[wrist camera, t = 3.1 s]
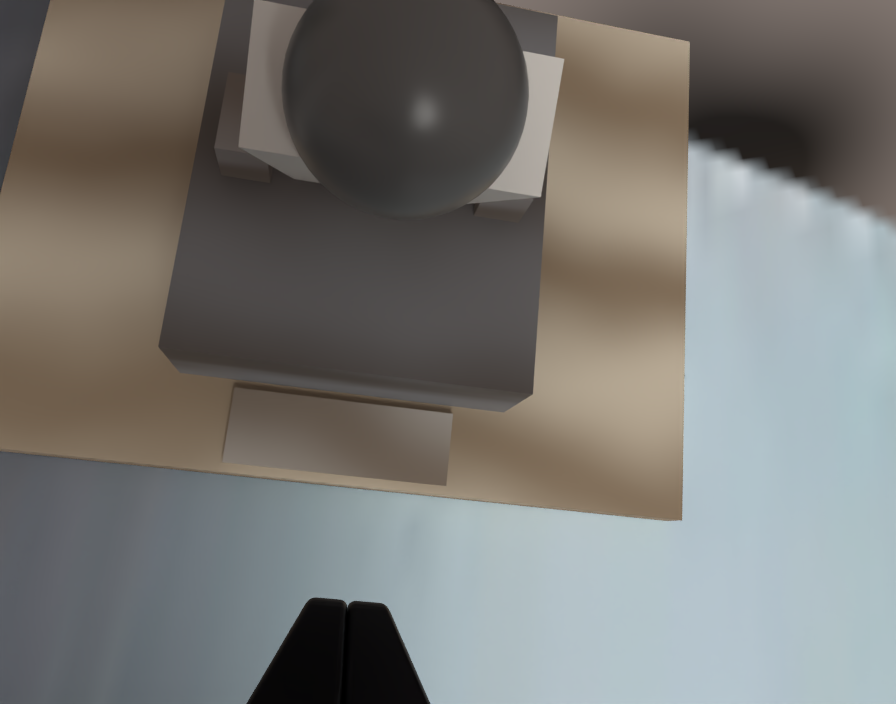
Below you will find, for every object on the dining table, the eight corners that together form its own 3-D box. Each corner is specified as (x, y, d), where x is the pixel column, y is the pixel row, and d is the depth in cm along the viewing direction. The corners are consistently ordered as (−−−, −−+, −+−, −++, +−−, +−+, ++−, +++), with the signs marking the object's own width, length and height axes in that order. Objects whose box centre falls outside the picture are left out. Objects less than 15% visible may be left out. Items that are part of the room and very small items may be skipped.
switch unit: (666, 520, 23) (769, 517, 18) (-46, 446, 20) (-172, 416, 15) (675, 59, 27) (763, -54, 22) (81, -59, 24) (17, -223, 19)
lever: (451, 229, 19) (574, 247, 8) (290, 203, 19) (203, 189, 8) (469, 107, 19) (626, -39, 8) (306, 77, 18) (233, -124, 7)
